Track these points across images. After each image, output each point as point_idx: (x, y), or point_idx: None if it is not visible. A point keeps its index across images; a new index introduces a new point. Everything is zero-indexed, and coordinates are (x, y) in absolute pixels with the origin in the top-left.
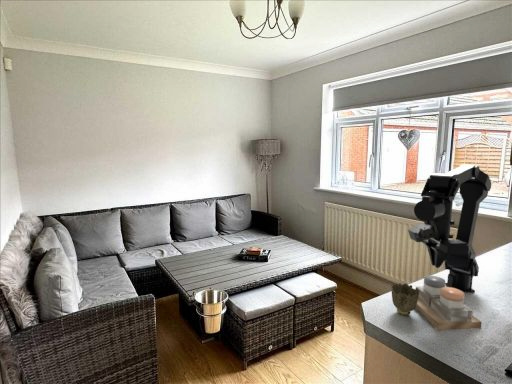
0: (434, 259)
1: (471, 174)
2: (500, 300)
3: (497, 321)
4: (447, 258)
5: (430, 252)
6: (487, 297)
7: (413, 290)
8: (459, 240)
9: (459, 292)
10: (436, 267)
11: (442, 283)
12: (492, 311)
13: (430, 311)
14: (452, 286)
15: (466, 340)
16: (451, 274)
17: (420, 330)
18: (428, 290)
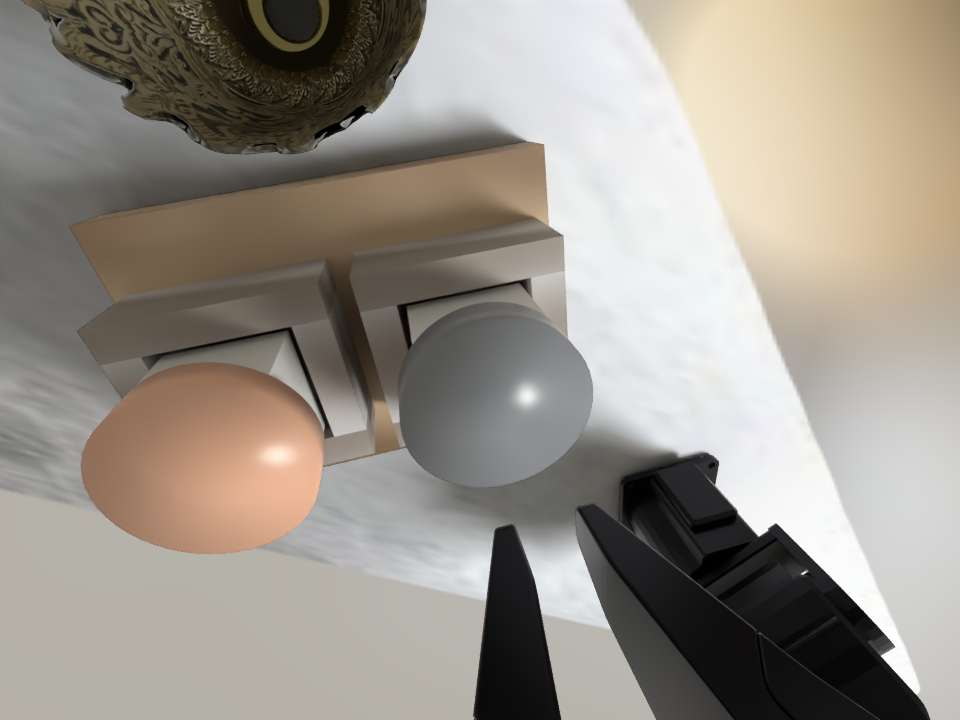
0: (624, 608)
1: None
2: (545, 596)
3: (346, 541)
4: (819, 612)
5: (743, 715)
6: (571, 567)
7: (341, 117)
8: None
9: (210, 527)
10: (495, 532)
11: (409, 451)
12: (442, 549)
13: (271, 237)
14: (660, 480)
15: (42, 348)
16: (724, 526)
17: (19, 56)
18: (452, 309)
